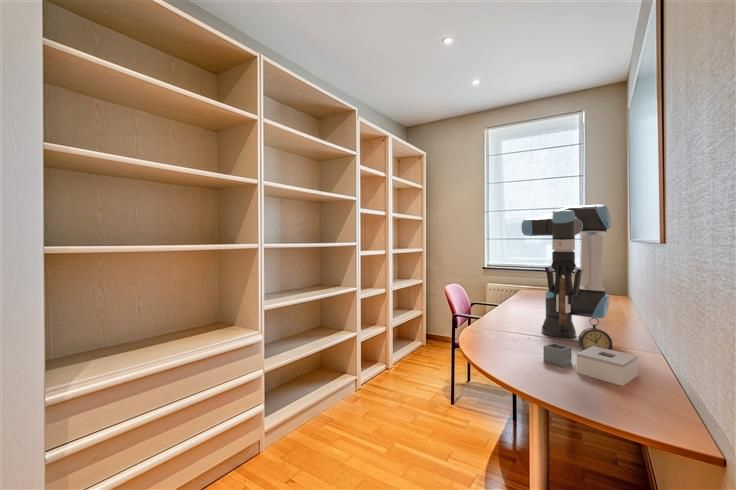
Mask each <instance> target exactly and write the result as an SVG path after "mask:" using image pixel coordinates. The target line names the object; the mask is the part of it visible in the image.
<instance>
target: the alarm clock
mask: <svg viewBox="0 0 736 490" xmlns="http://www.w3.org/2000/svg"><path fill="white" fill-rule="evenodd" d="M593 319H595V320H597V324H592V323H591V321H592V320H593ZM589 324H590V325H591V326H592V327H588V328H585V329H584V330H582V331H581V332H580V334H578V335H579V336H578V339H577V341H578V345H579V347H580V348H581V349H582V351H583V350H585V349H588V348H590V347H592V346H595V347H600V348H604V349H609V350H612V348H613V341H612V338H611V337H610V335H609V334H608V333H607V332H605V331H604V330H602V329H600V328H596V326H598V325H599V324H600V320H599V318H590V319H589Z"/></svg>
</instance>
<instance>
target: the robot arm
mask: <svg viewBox="0 0 736 490" xmlns="http://www.w3.org/2000/svg"><path fill="white" fill-rule="evenodd" d="M611 228H612V218H611V213H610V209H609V208H608V206H607V205H605V204H589V205H586V204H585V205H575V206H574V205H572V206H567V207H563V208H560V209H557V210H553V211H552V212H550V213H549V214H545V215H542V216H540V217H535V218H525V219H523V220H522V222H521V232H522V234H523V235H524V236H525V237H528V236H529V237H533V236H534V237H539V236H544V237H545V236H549V237H550V236H552V238H551V239H552V244H551V246H552V247H551V248H552V250H553V251H552V253H551V254H552V257H551V260H552V263H551V265H550V266H545V267H544V270H545V273H546V279H547V288H548V289H547V290H546V291H545V298H544V299H545V318H544V321H543V324H542V326H541V333H542V334H544V335H546V336H549V337H554V338H563V339H564V338H565V339H566V338H567V339H570V338H571V339H572V338H574V337H576V336H577V330H576V328H575V326H574V322H573V316H576V317H586V318H590V319H592V318H597V319H603V318H605V317H606V316H607V314H608V312H609V311H608V310H609V307H610V295H609V294H608V293H606V289H605V288H604V286H602V285H603V284H602V282H603V280H602V279H603V247H604V245H603V243H604V239H603V238H604V236H605V235H606V234H607V232H608V230H610V229H611ZM578 234H579V235H580V236H581V245H580V246H581V248H580V250H581V251H580V267H577V265H576V261H575V260H576V259H575V258H576V257H575V256H576V255H575V254H576V253H575V250H576V241H575V238H576V237H575V236H577V235H578ZM553 271H554V273H555V275H553ZM573 272H574V273H575V274H574V280H573V279H572V276H573V275H572V274H573ZM563 276H564V277H563ZM554 277H555V280H554ZM559 278H565V280H566V287H567V296H565V313H568V325H560V324H559Z"/></svg>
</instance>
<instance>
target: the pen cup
mask: <svg viewBox="0 0 736 490" xmlns="http://www.w3.org/2000/svg"><path fill="white" fill-rule="evenodd" d="M572 351H573V349H572V346H568V345H564V344H560V343H556V342H550V343H547V344H545V345H543V363H546V364H550V365H552V366H553V365H554V366H556V367H561V368H564V367H566V366H567V367H568V365H569V366H570V365H571V364H572V361H573V360H572V357H573V356H572Z"/></svg>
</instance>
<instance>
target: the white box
mask: <svg viewBox="0 0 736 490" xmlns="http://www.w3.org/2000/svg"><path fill="white" fill-rule="evenodd" d="M638 358H639V356H638V355H635V354H630V353H626V352H621V351H617V350H612V349H611V350H609V349H604V348H600V347H595V346H592V347H590V348H588V349H585V350H583V349H582V350H581V351H579V352H577V353H576V374H580V375H584V376H586V375H587V377H589V378H590V377H591V378H593V379H597V380H601V381H604V382H608V383H611V384H614V385H619V386H623V387H624V386H625V385H626V384H628V383H630V382H631V381H632V380H634V379H636V377H638V375H639V374H638V373H639V371H638V370H639V362H638V361H639V359H638Z"/></svg>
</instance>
